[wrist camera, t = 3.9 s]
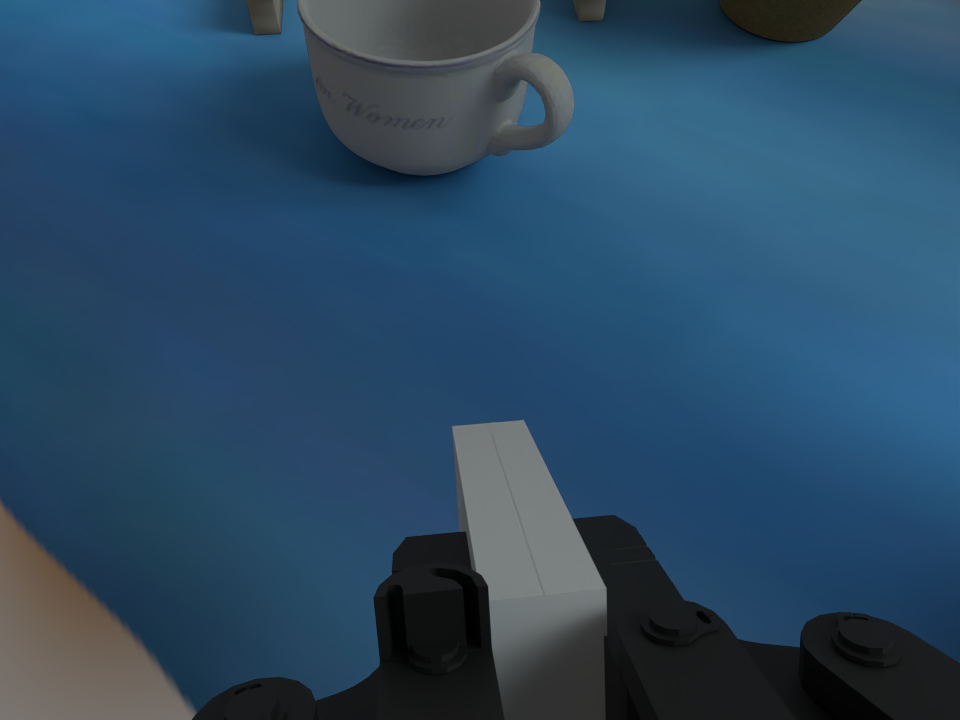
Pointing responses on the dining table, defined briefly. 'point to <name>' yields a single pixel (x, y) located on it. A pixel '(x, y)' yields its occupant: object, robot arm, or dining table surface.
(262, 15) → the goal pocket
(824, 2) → the plant pot
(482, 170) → the dining table surface
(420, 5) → the teacup
